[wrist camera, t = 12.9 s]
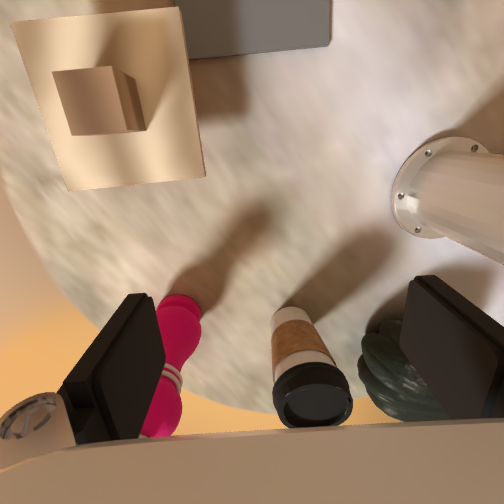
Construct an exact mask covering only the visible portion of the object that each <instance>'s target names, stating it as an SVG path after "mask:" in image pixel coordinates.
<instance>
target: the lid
mask: <svg viewBox="0 0 504 504" xmlns="http://www.w3.org/2000/svg"><path fill="white" fill-rule="evenodd" d="M10 25H11V28H12V31H13V34H14V37H15V39H16V42H17V45H18V48H19V51H20V54H21V57H22V60H23V63H24V65H25V68H26V71H27V74H28V77H29V80H30V83H31V86H32V89H33V92H34V94H35V97H36V100H37V103H38V106H39V109H40V112H41V115H42V118H43V121H44V123H45V126H46V129H47V132H48V135H49V138H50V141H51V144H52V147H53V150H54V152H55V155H56V158H57V161H58V164H59V167H60V170H61V173H62V176H63V178H64V181H65V184H66V187H67V190H68V191H77V190H86V189H96V188H106V187H115V186H125V185H134V184H144V183H154V182H163V181H173V180H182V179H192V178H202V177H205V176H206V172H205V165H204V158H203V152H202V145H201V139H200V132H199V126H198V119H197V113H196V106H195V100H194V93H193V86H192V80H191V73H190V67H189V60H188V54H187V47H186V41H185V34H184V27H183V21H182V14H181V11H180V9H179V6H178V7H167V8H157V9H146V10H135V11H125V12H114V13H103V14H92V15H82V16H71V17H60V18H50V19H39V20H28V21H17V22H10Z"/></svg>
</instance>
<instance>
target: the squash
mask: <svg viewBox="0 0 504 504" xmlns="http://www.w3.org/2000/svg"><path fill="white" fill-rule="evenodd" d="M402 323H403V321H402V320H394V319H389V320H384V321H383V322H382V323H381V324H380V326H379V333H368V334H366V335H365V336H364V337H363V338H362V341H361V346H362V352H363V354H362V355H361V356H360V358H359V360H358V364H357V367H358V371H359V374H358V375H359V377H360V379H361V381H362V382H363V383H364V384H365V387H366V390H367V393H368V394H369V396H370V398H371V399H372V401H373V402H374V404H375V405H376V406H377V407H378V408H379V409H381V410H382V411H383V412H384V413H386V414H387V415H389V416H390V417H393V418H395V419H399V420H401V421H402V422H419V421H439V420H451V419H450V417H449V416H448V414H447V413H446V412H445V410H444V409H443V407H442V406H441V405H440V403H439V402H438V400H437V399H436V398H435V396H434V395H433V393H432V392H431V391H430V389H429V388H428V386H427V385H426V384H425V382H424V381H423V379H422V378H421V377H420V375H419V374H418V372H417V371H416V370H415V368H414V367H413V365H412V364H411V362H410V361H409V360H408V358H407V357H406V355H405V354H404V353H403V351H402V350H401V347H400V342H399V341H400V334H401V328H402Z"/></svg>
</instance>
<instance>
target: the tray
mask: <svg viewBox="0 0 504 504" xmlns="http://www.w3.org/2000/svg"><path fill="white" fill-rule="evenodd" d="M174 3H175V7H178V6H179V9H180V11H181V14H182V21H183V27H184V34H185V41H186V47H187V54H188V60H195V59H205V58H215V57H225V56H235V55H245V54H255V53H265V52H275V51H285V50H296V49H306V48H316V47H326V46H328V45H329V21H330V0H174Z"/></svg>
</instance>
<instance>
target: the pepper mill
mask: <svg viewBox="0 0 504 504" xmlns="http://www.w3.org/2000/svg"><path fill="white" fill-rule="evenodd" d="M156 315H157V320H158V324H159V328H160V333H161V337H162V341H163V346H164V350H165V355H166V361H165V366H164V368H163V371H162V374H161V377H160V380H159V382H158V385H157V388H156V391H155V394H154V396H153V399H152V402H151V405H150V407H149V410H148V413H147V416H146V419H145V421H144V424H143V427H142V430H141V432H140V435H139V438H151V437H163V436H171V435H172V433H173V432H174V431H175V429H176V427H177V426H178V423H179V421H180V418H181V414H182V402H181V397H180V393H181V387H182V383H183V381H182V376H181V374H180V371H181V368H182V366H183V364H184V363H185V361H186V360H187V359H188V358H189V357H190V356H191V355H192V354H193V352H194V351H195V349H196V347H197V346H198V344H199V340H200V337H201V325H200V323H199V322H200V317H201V312H200V308H199V306H198V304H197V303H196V302H195V301H194V300H193V299H191V298H189V297H187V296H184V295H172V296H168V297H166V298H165V299H163V300H162V301H161V302H160V303H159V305H158V307H157V310H156Z"/></svg>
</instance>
